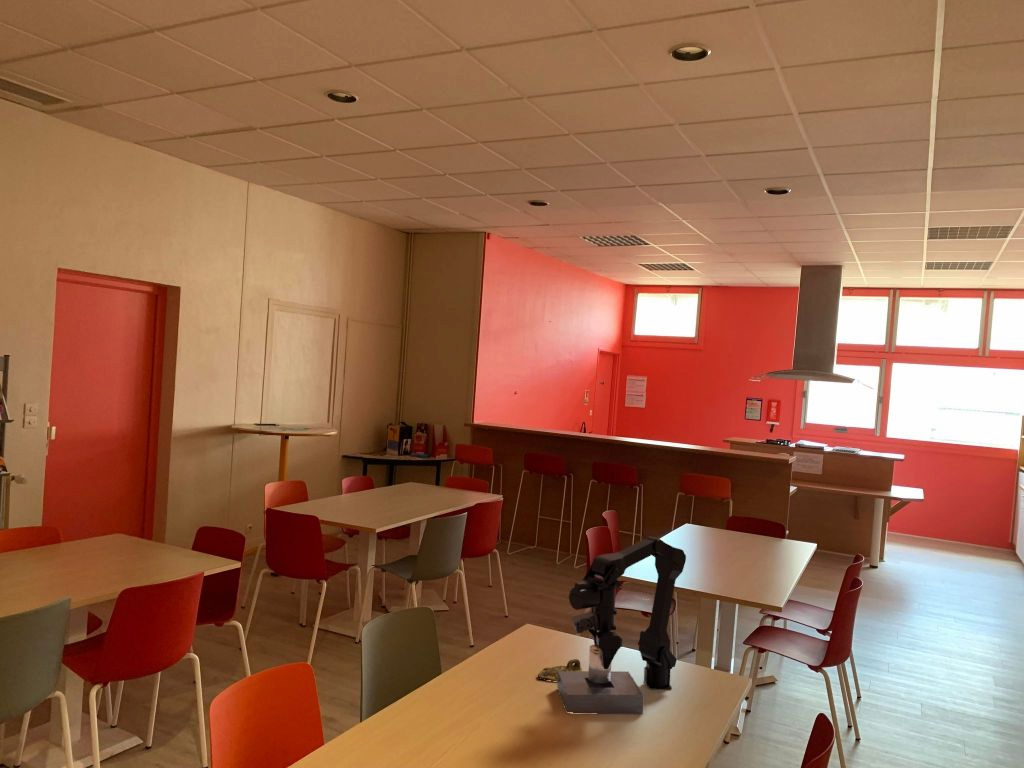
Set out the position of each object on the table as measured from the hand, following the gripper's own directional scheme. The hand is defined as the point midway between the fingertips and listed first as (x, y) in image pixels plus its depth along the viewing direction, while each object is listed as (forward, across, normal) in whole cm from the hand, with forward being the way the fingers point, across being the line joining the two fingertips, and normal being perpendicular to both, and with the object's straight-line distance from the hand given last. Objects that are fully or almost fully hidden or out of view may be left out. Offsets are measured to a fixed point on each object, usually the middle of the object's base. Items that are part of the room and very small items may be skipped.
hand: (602, 662), depth 202 cm
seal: (+11, -18, -8) cm, 23 cm away
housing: (+10, 0, -1) cm, 10 cm away
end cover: (+5, 0, -1) cm, 5 cm away
